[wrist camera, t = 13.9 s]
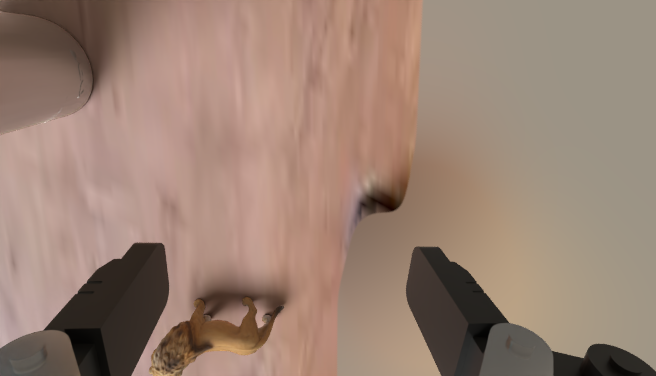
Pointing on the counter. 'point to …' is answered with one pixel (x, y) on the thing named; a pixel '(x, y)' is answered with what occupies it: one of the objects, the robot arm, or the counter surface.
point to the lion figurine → (209, 339)
